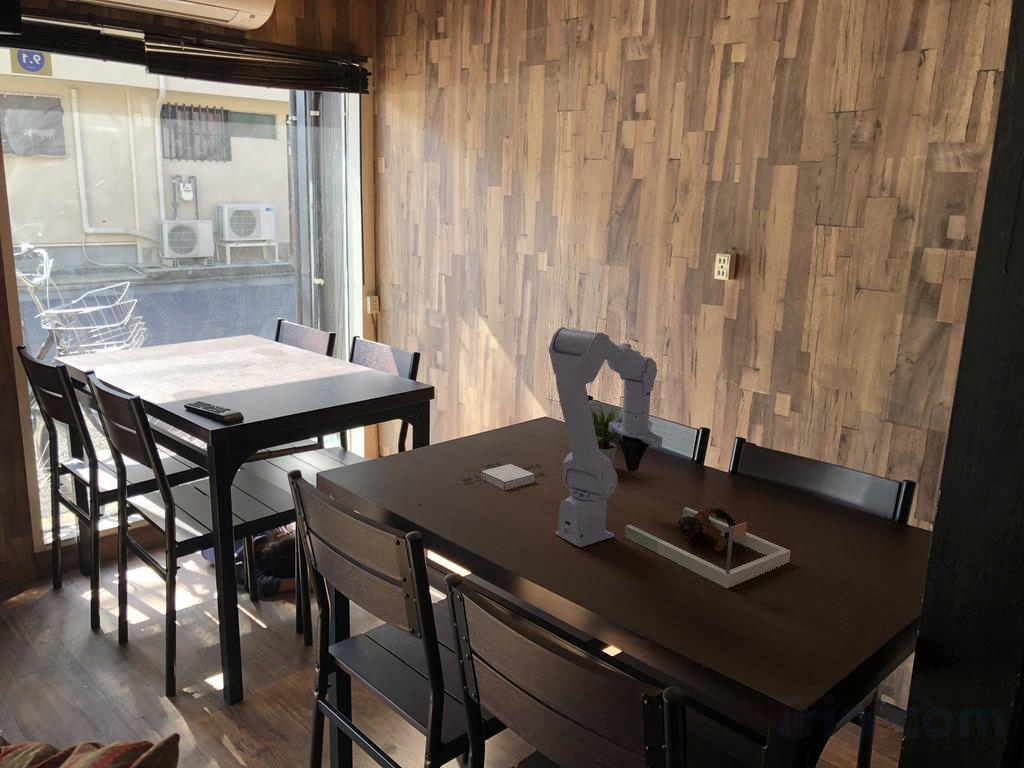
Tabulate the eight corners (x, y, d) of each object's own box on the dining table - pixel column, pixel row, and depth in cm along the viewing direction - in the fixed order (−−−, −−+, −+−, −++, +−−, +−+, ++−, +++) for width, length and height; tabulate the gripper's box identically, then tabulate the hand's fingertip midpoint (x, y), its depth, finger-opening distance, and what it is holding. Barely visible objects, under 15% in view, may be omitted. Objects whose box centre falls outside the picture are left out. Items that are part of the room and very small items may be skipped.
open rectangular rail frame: (726, 588, 144) (732, 528, 141) (624, 537, 165) (628, 484, 162) (789, 562, 155) (795, 506, 152) (686, 517, 175) (690, 467, 172)
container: (486, 496, 186) (486, 485, 185) (457, 482, 194) (457, 472, 194) (551, 479, 198) (551, 468, 198) (521, 466, 207) (521, 456, 206)
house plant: (629, 482, 196) (632, 417, 192) (572, 476, 199) (575, 413, 195) (632, 463, 210) (636, 403, 206) (579, 458, 212) (582, 399, 209)
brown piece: (710, 531, 170) (731, 505, 165) (726, 567, 163) (748, 541, 158) (662, 523, 166) (682, 496, 161) (676, 560, 158) (697, 533, 154)
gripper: (673, 415, 170) (669, 476, 173) (626, 400, 181) (622, 457, 185) (650, 420, 166) (646, 482, 169) (602, 404, 177) (599, 463, 181)
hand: (632, 470), depth 177 cm, fingers closed
